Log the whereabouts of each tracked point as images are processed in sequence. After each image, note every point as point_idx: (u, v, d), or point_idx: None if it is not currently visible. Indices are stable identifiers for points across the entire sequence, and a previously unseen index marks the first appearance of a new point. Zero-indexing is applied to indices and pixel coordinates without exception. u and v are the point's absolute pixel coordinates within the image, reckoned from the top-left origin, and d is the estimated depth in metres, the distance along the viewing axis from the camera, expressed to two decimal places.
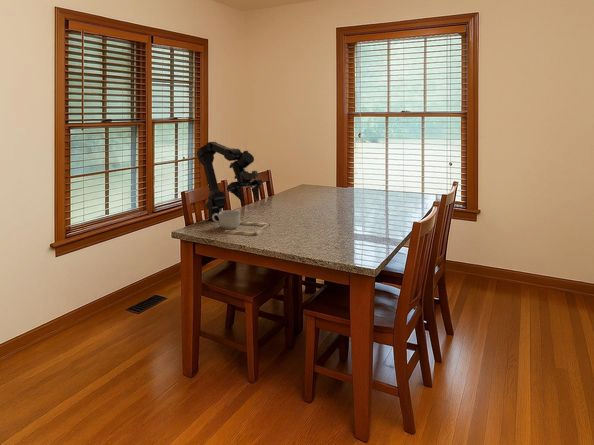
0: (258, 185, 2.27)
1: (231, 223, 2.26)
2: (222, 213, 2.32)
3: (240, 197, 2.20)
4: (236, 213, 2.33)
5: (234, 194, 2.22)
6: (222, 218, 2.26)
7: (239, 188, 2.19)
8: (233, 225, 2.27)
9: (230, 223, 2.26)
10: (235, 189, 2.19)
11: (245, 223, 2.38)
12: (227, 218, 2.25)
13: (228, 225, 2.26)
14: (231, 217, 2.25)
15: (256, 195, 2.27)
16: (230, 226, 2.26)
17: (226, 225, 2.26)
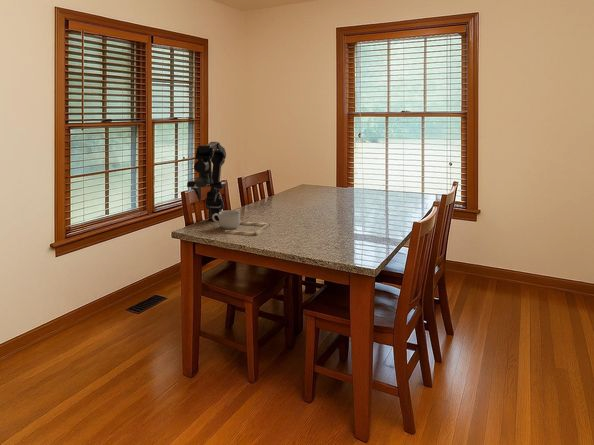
0: (214, 190, 2.25)
1: (231, 223, 2.26)
2: (222, 213, 2.32)
3: None
4: (236, 213, 2.33)
5: None
6: (222, 218, 2.26)
7: (194, 189, 2.28)
8: (233, 225, 2.27)
9: (230, 223, 2.26)
10: (192, 188, 2.29)
11: (245, 223, 2.38)
12: (227, 218, 2.25)
13: (228, 225, 2.26)
14: (231, 217, 2.25)
15: None
16: (230, 226, 2.26)
17: (226, 225, 2.26)
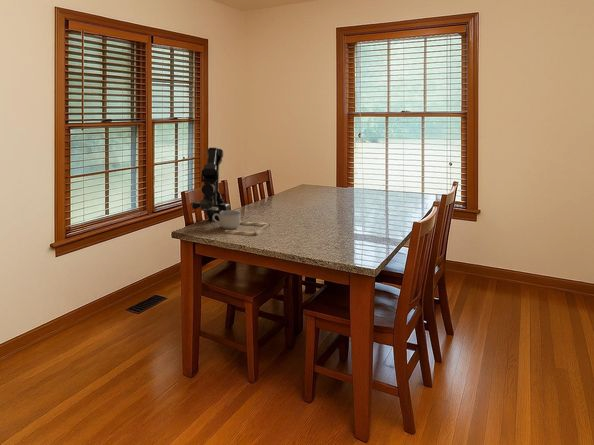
0: (211, 211, 2.28)
1: (231, 223, 2.26)
2: (222, 213, 2.32)
3: None
4: (236, 213, 2.33)
5: None
6: (222, 218, 2.25)
7: (206, 211, 2.29)
8: (233, 225, 2.26)
9: (230, 223, 2.25)
10: None
11: (245, 223, 2.38)
12: (228, 218, 2.24)
13: (228, 224, 2.26)
14: (231, 217, 2.25)
15: None
16: (230, 226, 2.26)
17: (226, 225, 2.26)
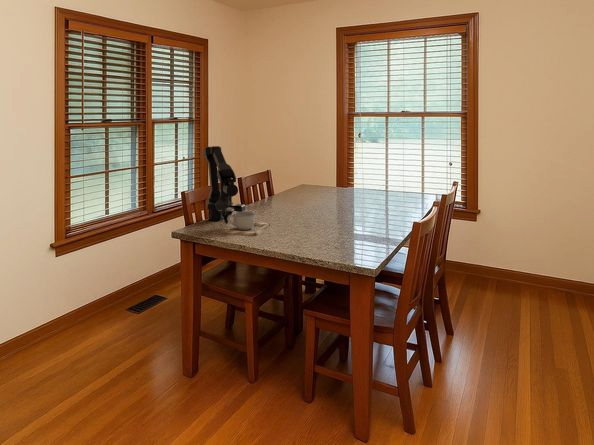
0: (226, 212, 2.26)
1: (248, 224, 2.24)
2: (235, 214, 2.30)
3: None
4: (249, 213, 2.32)
5: None
6: (239, 219, 2.24)
7: (221, 212, 2.27)
8: (249, 226, 2.26)
9: (247, 224, 2.24)
10: None
11: None
12: (244, 218, 2.23)
13: (244, 225, 2.24)
14: (248, 218, 2.24)
15: None
16: (247, 227, 2.25)
17: (243, 226, 2.24)
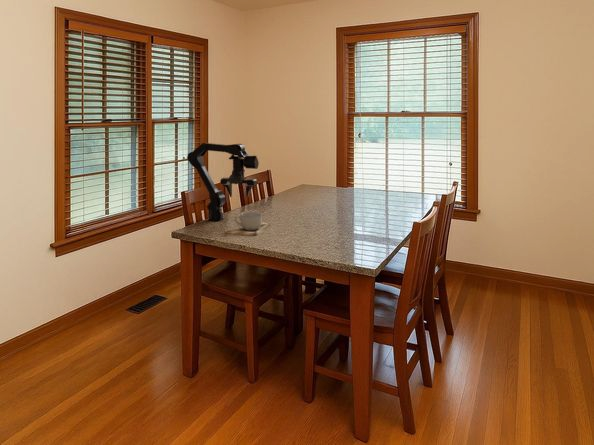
0: (247, 186, 2.37)
1: (255, 224, 2.24)
2: (242, 215, 2.29)
3: None
4: (256, 214, 2.32)
5: None
6: (246, 219, 2.23)
7: (226, 186, 2.40)
8: (257, 226, 2.25)
9: (254, 224, 2.24)
10: None
11: None
12: (252, 219, 2.22)
13: (252, 226, 2.24)
14: (256, 218, 2.23)
15: None
16: (254, 227, 2.24)
17: (250, 226, 2.24)
